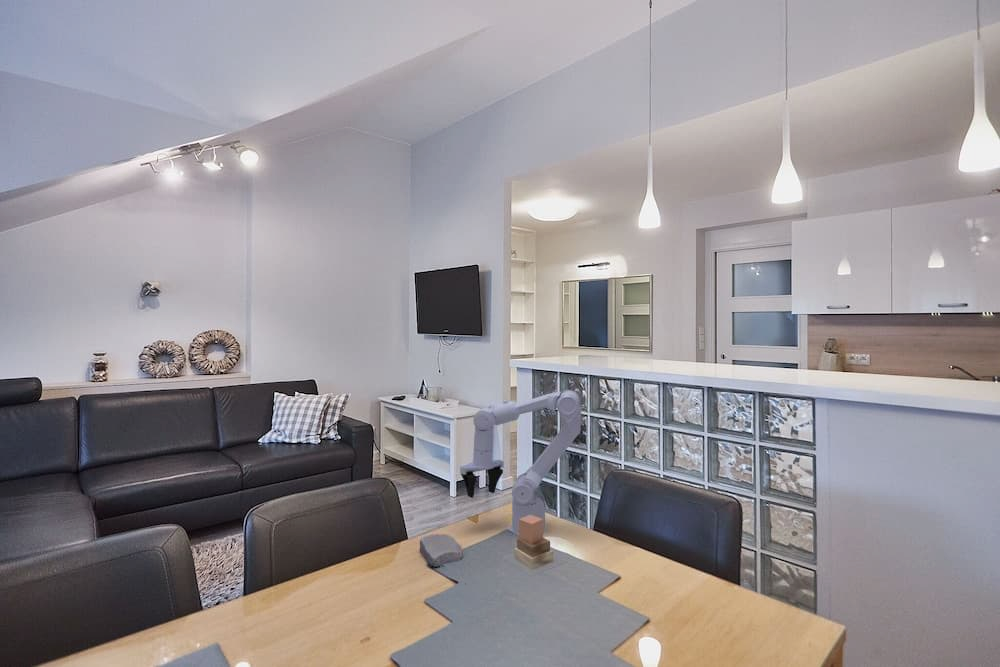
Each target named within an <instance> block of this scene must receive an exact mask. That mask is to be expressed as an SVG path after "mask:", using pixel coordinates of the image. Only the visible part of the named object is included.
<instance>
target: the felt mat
mask: <svg viewBox="0 0 1000 667" xmlns="http://www.w3.org/2000/svg"><path fill="white" fill-rule="evenodd" d="M500 558H501V559H503V560H504V561H506V562H508V563H509V564H511V565H512V566H514V567H515V568H517V569H519V570H520V571H522V572H523V573H524V574H526V575H528V576H529V577H532V576H535V575H537V574H540V573H542V572H546V571H548V570H551V569H553V568H555V567H556V568H557V567H558V566H560V565H563V564H565V563H567V561H566V560H564V559H562V558H561V557H559V556H557V555H555V554H554V553H553V561H551V562H549V563H546V564H543V565H541V566H538V567H535V568H533V569H531V568H530V567H528V566H526V565H525V564H523V563H522V562H520V561H518V560H517V559H515V558H514V552H511V553H508V554H505V555H502V556H500Z"/></svg>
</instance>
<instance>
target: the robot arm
mask: <svg viewBox="0 0 1000 667" xmlns="http://www.w3.org/2000/svg"><path fill="white" fill-rule="evenodd" d="M543 409H547V410H549V411H551V412H556V410H557V411H558V414H559V415H560V416H561V419H562V425H563V426H562V428H560V430H559V431H558V433H557V434H556V435H555V436H554V437H553V439H552V440H551V441H550V443H549V444H548V445H547V446H546V447H545V449H544V450H543V451H542V452H541V454H540V455H539V456H538V458H537V459H536V460H535V462H534V463H533V464H532V466H530V467H529V468H528V469H527V470H526V471H525V472H523V473H521V474H519V476H517V478H516V480H515V484H514V486H513V487H512V489H511V496H512V499H511V500H512V502H511V503H512V504H511V505H512V507H511V512H512V513H511V514H512V515H511V517H512V518H511V520H512V521H511V525H510V526H506V527H505V528H506V529H507V530H509V531H511V532H512V533H514V534H515V535H517V536H519V519H521V518H523V517H526V516H528V515H533V516H536V517H539V518H541V519H543V531H546V530H547V529H548V528H547V527H546V506H545V503H544V501H543V500H542V499H541V497H539V496H536V494H535V491H536V490H537V489H538V488H539V486H540V484H541V483H542V481H543V479H544V478H545V477H546V476H547V474H548V473H549V472H550V470H551V469H552V468H553V467H554V466H555V464H556V463H557V462H558V460H559V459H560V458H561V457H562V456H563V454H564V453H565V452H566V450H567V449H568V448H569V447H570V446H571V444H572V443H573V442H574V441H575V439H576V438H577V437H578V435H579V434H580V432H581V429H582V428H581V424H582V409H583V408H582V403H581V399H580V396H579V394H578V393H577V392H576V391H574V390H572V389H571V390H570V389H566V390H563V391H555V392H551V393H547V394H544V395H540V396H538V397H534V398H531V399H528V400H524V401H522V402H519V403H517V402H515V401H513V400H508V399H506V400H503V402H502V403H500V404H496V405H492V404H489V405H488V406H487V407H483V408H481V409H479V410H478V411H477V412H476V413H475V414H474V416H473V419H472V420H473V425H474V433H473V434H474V436H473V452H472V453H473V455H472V456H473V458H472V459H473V460H472V462H470V463H467V464H465V465H464V464H463V465H461V466H460V467H459V473H460V475H461V478H462V479H463V482H464V485H465V489H466V493H467V495H466V496H467V497H468V498H470V499H473V498H474V496H475V485H476V481H477V479H478V476H477V475H475V473H476V472H480V471H481V472H482V471H486V470H487V478H488V483H487V484H488V486H487V487H488V488H487V489H488V492H490V493H492V494H495V491H496V490H497V486H498V483H499V480H500V479H501V477H502V475H503V474H504V470H503V468H505V467H504V465H505V462H504V460H502V459H494V460H493V458H494V457H493V454H494V452H493V451H494V437H495V436H494V435H495V434H494V426H499V425H504V424H507V423H511V422H514V421H517V420H518V419H519V417H520V415H522V414H523V415H524V414H526V413H531V412H532V413H533V412H535V411H540V410H543Z"/></svg>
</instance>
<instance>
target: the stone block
mask: <svg viewBox="0 0 1000 667" xmlns="http://www.w3.org/2000/svg"><path fill="white" fill-rule="evenodd" d="M463 551H464V550H463V548H462V546H461V544H460V543H459V542H457V540H456V539H455V538H454V537H453V536H451V535H449V534H446V533H444V534H441V533H440V534H439V533H435V534H429V535H426V536H424V537H422V538H420V540H419V552H420V553H421V554H422V556H423V557H424V559H425V561H427V564H430V565H429V566H430V567H432V566H433V568H434V567H437V566H440V565H442V564H443V565H444V564H447V563H452V562H459V561H460V560H461V559H462V557H463V554H464V553H463ZM437 568H438V567H437Z"/></svg>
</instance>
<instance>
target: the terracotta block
mask: <svg viewBox="0 0 1000 667" xmlns="http://www.w3.org/2000/svg"><path fill="white" fill-rule="evenodd" d="M518 538H519V539H521V540H524V541H526V542H529V543H531V544H533V543H535V542H537V541H539V540H541V539H543V538H544V530H543V519H541V518H539V517H536V516H533V515H528V516H526V517H523V518H521V519H519V535H518Z"/></svg>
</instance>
